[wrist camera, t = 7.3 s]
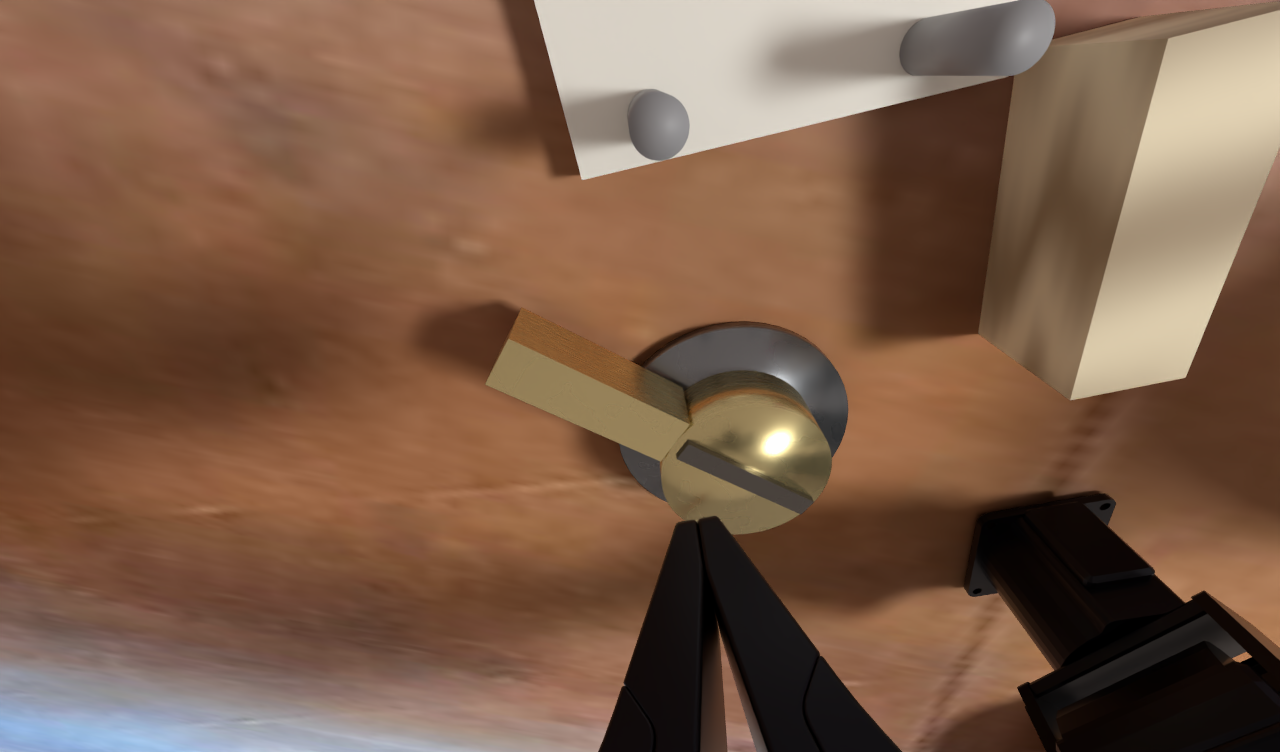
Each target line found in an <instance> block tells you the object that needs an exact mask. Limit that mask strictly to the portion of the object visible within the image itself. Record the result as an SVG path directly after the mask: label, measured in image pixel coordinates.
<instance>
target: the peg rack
mask: <svg viewBox="0 0 1280 752" xmlns="http://www.w3.org/2000/svg"><path fill="white" fill-rule="evenodd" d="M534 2H535V6H536V10H537V13H538V17H539V21H540V25H541V28H542V32H543V36H544V40H545V43H546V47H547V51H548V55H549V58H550V62H551V66H552V70H553V73H554V77H555V81H556V85H557V88H558V92H559V96H560V100H561V103H562V107H563V111H564V115H565V118H566V122H567V126H568V130H569V133H570V137H571V141H572V145H573V148H574V152H575V156H576V160H577V163H578V167H579V171H580V175H581V178H582V180H585V179H589V178H593V177H597V176H601V175H606V174H610V173H614V172H618V171H622V170H626V169H630V168H634V167H639V166H643V165H647V164H651V163H655V162H659V161H663V160H667V159H671V158H676V157H680V156H684V155H688V154H692V153H696V152H700V151H704V150H709V149H713V148H717V147H721V146H725V145H729V144H733V143H737V142H742V141H746V140H750V139H754V138H758V137H762V136H766V135H770V134H775V133H779V132H783V131H787V130H791V129H795V128H799V127H803V126H808V125H812V124H816V123H820V122H824V121H828V120H832V119H836V118H841V117H845V116H849V115H853V114H857V113H861V112H865V111H869V110H874V109H878V108H882V107H886V106H890V105H894V104H898V103H902V102H907V101H911V100H915V99H919V98H923V97H927V96H931V95H935V94H940V93H944V92H948V91H952V90H956V89H960V88H964V87H968V86H973V85H977V84H981V83H985V82H989V81H993V80H997V79H1001V78H1005V77H1008V76H1013V75H1017V74H1020V73H1022V72H1024V71H1026V70H1028V69H1029V68H1031V67H1032V66H1033V65H1034V64H1035V63H1037V62H1038V60H1039V59H1040V58H1041V57H1042V56H1043V55H1044V53H1045V52H1046V50H1047V48H1048V47H1049V45H1050V43H1051V40H1052V37H1053V34H1054V30H1055V15H1054V11H1053V9H1052V7H1051V6H1050V4H1048V3H1047V2H1046V1H1045V0H534Z"/></svg>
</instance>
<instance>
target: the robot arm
mask: <svg viewBox="0 0 1280 752" xmlns="http://www.w3.org/2000/svg"><path fill="white" fill-rule="evenodd" d="M1115 505H1116V502H1115V501H1114V500H1113V499H1112V498H1111V497H1110V496H1109V495H1107V494H1098V495H1092V496H1086V497H1080V498H1074V499H1068V500H1062V501H1056V502H1051V503H1045V504H1039V505H1033V506H1027V507H1021V508H1015V509H1010V510H1004V511H998V512H992V513H987V514H984V515H982V516H980V517H979V518H978V520H977V522H976V528H975V533H974V538H973V543H972V548H971V553H970V558H969V563H968V569H967V574H966V579H965V584H964V589H965V590H966V592H967V593H968V595H970V596H972V597H976V596H982V595H989V594H995V593H999V595H1000V596H1001V598H1002V599H1003V600H1004V602H1005V603H1006V604H1007V606H1008V607H1009V609H1010V610H1011V611H1012V613H1013V614H1014V615H1015V617H1016V618H1017V620H1018V621H1019V622H1020V624H1021V625H1022V626H1023V628H1024V629H1025V631H1026V632H1027V633H1028V635H1029V636H1030V637H1031V639H1032V640H1033V642H1034V643H1035V644H1036V646H1037V647H1038V648H1039V650H1040V651H1041V653H1042V654H1043V655H1044V657H1045V658H1046V659H1047V661H1048V662H1049V664H1050V665H1051V666H1052V668H1053V669H1054V670H1055V671H1053V672H1051V673H1049V674H1047V675H1045V676H1043V677H1041V678H1039V679H1037V680H1035V681H1033V682H1032V683H1029V682H1026V683H1024V684H1022V685H1020V686H1018V687H1017V688H1018V691H1019V693H1020V695H1021V697H1022V699H1023V701H1024V703H1025V705H1026V706H1025V709H1026V711H1027V713H1028V715H1029V717H1030V719H1031V721H1032V723H1033V725H1034V727H1035V729H1036V731H1037V733H1038V735H1039V737H1040V740H1041V742H1042V744H1043V746H1044V748H1045V750H1046V752H1280V648H1279V647H1278V646H1277V645H1276V644H1274V643H1273V642H1272V641H1271V640H1270V639H1269V638H1267V637H1266V636H1265V635H1264V634H1263V633H1262V632H1260V631H1259V630H1258V629H1257V628H1256V627H1254V626H1253V625H1252V624H1251V623H1249V622H1248V621H1246V620H1245V619H1244V618H1242V617H1241V616H1239V615H1238V614H1237V613H1235V612H1234V611H1232V610H1231V609H1230V608H1228V607H1227V606H1225V605H1224V604H1223V603H1221V602H1220V601H1218V600H1217V599H1216V598H1214V597H1213V596H1211V595H1210V594H1209V593H1207V592H1206V591H1202V592H1200V593H1198V594H1196V595H1194V596H1192V597H1191V598H1192V599H1193V600H1191V601H1189V602H1187V603H1185V602H1184V601H1183V600H1182V599H1181V598H1179V597H1178V596H1177V595H1176V594H1175V593H1174V592H1173V591H1172V590H1171V589H1170V588H1169V587H1168V586H1167V585H1166V584H1164V583H1163V582H1162V581H1161V580H1160V579H1159V578H1158V577H1157V576H1156V575H1155V574H1154V573H1155V570H1154V569H1153V567H1151V566H1150V565H1149V564H1148V563H1147V562H1146V561H1145V560H1144V559H1143V558H1142V557H1141V556H1140V555H1138V554H1137V553H1136V552H1135V551H1134V550H1133V549H1132V548H1131V547H1130V546H1129V545H1128V544H1127V543H1126V542H1124V541H1123V540H1122V539H1121V538H1120V537H1119V536H1118V535H1117V534H1116V533H1115V532H1114V531H1113V530H1112V529H1110V528H1109V527H1108V526H1107V525H1108V523H1109V520H1110V518H1111V515H1112V513H1113V510H1114V508H1115ZM717 621H718V623H717ZM718 626H719V629H718ZM719 630H720V633H721V637H722V641H723V644H724V648H725V651H726V654H727V657H728V660H729V664H730V667H731V670H732V673H733V677H734V680H735V683H736V686H737V690H738V693H739V696H740V699H741V703H742V706H743V709H744V712H745V716H746V719H747V722H748V725H749V728H750V732H751V735H752V738H753V741H754V745H755V748H756V751H757V752H902V751H901V750H900V749H899V748H898V747H897V746H896V745H895V743H894V742H893V741H892V740H891V739H890V738H889V737H888V736H887V735H886V734H885V733H884V731H883V730H882V729H881V728H880V727H879V726H878V725H877V723H876V722H875V721H874V720H873V719H872V718H871V717H870V715H869V714H868V713H867V712H866V711H865V710H864V709H863V707H862V706H861V705H860V704H859V703H858V702H857V700H856V699H855V698H854V697H853V695H852V694H851V693H850V691H849V690H848V689H847V688H846V686H845V685H844V684H843V683H842V681H841V680H840V679H839V678H838V676H837V675H836V674H835V672H834V671H833V670H832V668H831V667H830V666H829V664H828V663H827V662H826V660H825V659H824V658H823V657H822V656H820V653H819V651H818V650H817V649H816V647H815V646H814V644H813V643H812V642H811V640H810V639H809V638H808V636H807V635H806V634H805V632H804V631H803V630H802V628H801V627H800V626H799V624H798V623H797V622H796V620H795V619H794V618H793V616H792V615H791V614H790V612H789V611H788V610H787V608H786V607H785V606H784V604H783V603H782V601H781V600H780V599H779V597H778V596H777V595H776V593H775V592H774V591H773V589H772V588H771V587H770V585H769V584H768V583H767V581H766V580H765V579H764V577H763V576H762V575H761V573H760V572H759V571H758V569H757V568H756V567H755V565H754V564H753V563H752V561H751V560H750V559H749V557H748V556H747V554H746V553H745V552H744V550H743V549H742V548H741V546H740V545H739V544H738V542H737V541H736V540H735V538H734V537H733V536H732V534H731V533H730V532H729V530H728V529H727V528H726V526H725V525H724V524H723V522H722V521H721V520H720V518H719V517H717V516H710V517H704V518H700V519H699V520H698V523H697V521H696V520H688V521H682V522H678V523H677V524H676V526H675V529H674V532H673V535H672V538H671V541H670V544H669V547H668V550H667V553H666V556H665V559H664V562H663V565H662V568H661V571H660V574H659V577H658V580H657V583H656V586H655V589H654V592H653V595H652V598H651V601H650V604H649V607H648V610H647V613H646V616H645V619H644V622H643V625H642V628H641V631H640V634H639V637H638V640H637V643H636V646H635V649H634V652H633V655H632V658H631V661H630V664H629V667H628V670H627V673H626V676H625V679H624V685H625V686H623V687H622V688H621V691H620V694H619V697H618V700H617V703H616V706H615V709H614V712H613V714H612V717H611V720H610V723H609V725H608V728H607V731H606V734H605V736H604V739H603V742H602V744H601V746H600V749H599V751H598V752H727V737H726V723H725V708H724V694H723V679H722V664H721V650H720V638H719ZM1244 652H1248V653H1249V654H1250V655H1251V656H1252V657H1251V658H1249V659H1247V660H1245V661H1242V662H1240V663H1239V662H1236V661H1235V660H1233V659H1232V658H1233V657H1236V656H1238V655H1240V654H1242V653H1244Z"/></svg>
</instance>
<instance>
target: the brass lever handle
mask: <svg viewBox="0 0 1280 752" xmlns="http://www.w3.org/2000/svg"><path fill="white" fill-rule="evenodd" d="M485 385H487V386H490V387H492V388H494V389H496V390H499V391H501V392H503V393H505V394H508V395H510V396H512V397H515V398H517V399H519V400H521V401H524V402H526V403H528V404H531V405H533V406H535V407H537V408H540V409H542V410H544V411H547V412H549V413H551V414H553V415H556V416H558V417H560V418H562V419H565V420H567V421H569V422H572V423H574V424H576V425H578V426H581V427H583V428H585V429H588V430H590V431H592V432H594V433H597V434H599V435H601V436H604V437H606V438H608V439H610V440H613V441H615V442H617V443H619V444H622V445H624V446H626V447H629V448H631V449H633V450H635V451H638V452H640V453H642V454H645V455H647V456H649V457H651V458H654V459H656V460H658V461H660V471H661V481H662V488H663V493H664V495H665V498H666V500H667V502H668V503H669V505H670V507H671V508H672V509H673V510H674V511H675V513H676V514H677V515H679V516H680V517H681V518H682V519H683V520H685V521H688V520H696V521H697V523H698V520H699V519H700V518H704V517H710V516H717V517H719V518H720V520H721V521H722V522H723V524H724V525H725V526H726V528H727V529H728V530H729V532H730V533H731V534H749V533H755V532H760V531H764V530H768V529H771V528H774V527H777V526H779V525H781V524H784V523H786V522H788V521H790V520H791V519H793V518H795V517H796V516H798V515H799V514H802V513H803V512H804V511H805V510H806V509H807V508H808V507H809V506H811V505H812V504H813V503H814V501H815V500H816V499H817V498H818V497H819V495H820V494H821V493H822V491H823V489H824V488H825V486H826V484H827V482H828V479H829V476H830V472H831V467H832V457H831V450H830V447H829V444H828V442H827V440H826V438H825V436H824V435H823V433H822V431H821V429H820V427H819V426H818V424H817V422H816V420H815V419H814V417H813V415H812V413H811V411H810V410H809V408H808V406H807V404H806V403H805V401H804V399H803V397H802V396H801V395H800V394H799V392H798V391H797V390H796V389H795V388H794V387H792V386H791V385H790V384H789V383H787V382H786V381H784V380H782V379H780V378H778V377H776V376H774V375H770V374H767V373H764V372H758V371H749V370H738V371H728V372H723V373H719V374H715V375H712V376H709V377H707V378H704V379H702V380H700V381H698V382H696V383H694V384H692V385H691V386H689V387H688V388H687V389H685V390H684V391H683V387H681V386H679V385H677V384H675V383H673V382H671V381H669V380H667V379H665V378H663V377H661V376H659V375H657V374H655V373H653V372H651V371H649V370H647V369H645V368H643V367H641V366H639V365H637V364H635V363H633V362H631V361H629V360H627V359H625V358H623V357H621V356H619V355H617V354H615V353H613V352H611V351H609V350H607V349H605V348H603V347H601V346H599V345H597V344H595V343H593V342H591V341H589V340H587V339H585V338H583V337H581V336H579V335H577V334H575V333H572V332H570V331H568V330H566V329H564V328H562V327H560V326H558V325H556V324H554V323H552V322H550V321H548V320H546V319H544V318H542V317H540V316H538V315H536V314H534V313H532V312H530V311H528V310H526V309H524V308H521V310H520V312H519V314H518V316H517V318H516V320H515V322H514V324H513V326H512V328H511V330H510V332H509V334H508V336H507V338H506V340H505V342H504V344H503V346H502V348H501V350H500V352H499V354H498V356H497V359H496V361H495V363H494V365H493V368H492V370H491V372H490V374H489V377H488V379H487V381H486V383H485Z"/></svg>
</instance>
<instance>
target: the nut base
mask: <svg viewBox="0 0 1280 752" xmlns="http://www.w3.org/2000/svg"><path fill="white" fill-rule="evenodd" d="M641 367H643V368H645V369H647V370H649V371H651V372H653V373H655V374H657V375H659V376H661V377H663V378H665V379H667V380H669V381H671V382H673V383H675V384H677V385H679V386H681V387H683V391H684V390H685V389H687V388H688V387H689V386H691V385H692V384H694V383H696V382H698V381H700V380H702V379H704V378H707V377H709V376H712V375H715V374H719V373H723V372H728V371H738V370H749V371H758V372H764V373H767V374H770V375H774V376H776V377H778V378H780V379H782V380H784V381H786V382H787V383H789V384H790V385H791V386H792V387H794V388H795V389H796V390H797V391H798V392H799V394H800V395H801V396H802V397H803V399H804V401H805V403H806V404H807V406H808V408H809V410H810V411H811V413H812V415H813V417H814V419H815V420H816V422H817V424H818V426H819V427H820V429H821V431H822V433H823V435H824V436H825V438H826V440H827V442H828V444H829V447H830V450H831V457H833V456H834V454H835V452H836V450H837V449H838V447H839V445H840V443H841V440H842V438H843V435H844V433H845V429H846V424H847V418H848V401H847V395H846V391H845V387H844V384H843V382H842V380H841V378H840V376H839V374H838V372H837V371H836V369H835V368H834V366H833V365H832V364H831V362H830V361H829V359H828V358H827V357H826V355H825V354H824V353H823V352H822V351H821V350H820V349H819V348H818V347H817V346H815V345H814V344H813V343H811V342H810V341H809V340H807V339H806V338H804V337H802V336H800V335H799V334H797V333H795V332H793V331H790V330H787V329H785V328H782V327H779V326H775V325H770V324H766V323H757V322H729V323H722V324H716V325H711V326H708V327H704V328H700V329H697V330H695V331H692V332H690V333H687V334H685V335H682V336H681V337H679V338H677V339H675V340H673V341H671V342H670V343H668V344H667V345H665V346H664V347H662V348H661V349H660V350H658V351H657V352H656V353H654V354H653V355H652V356H651V357H650V358H649V359H648V360H647V361H646V362H645V363H644V364H643V365H642V366H641ZM619 445H620V450H621V454H622V456H623V459H624V461H625V464H626V465H627V467H628V469H629V470H630V472H631V474H632V475H633V476H634V477H635V478H636V480H637V481H638V482H639V483H640V484H641V485H642V486H643V487H644V488H646V489H647V490H648V491H649V492H651V493H652V494H654V495H655V496H657V497H658V498H660V499H662V500H664V501H666V502H667V500H666V498H665V495H664V493H663V488H662V481H661V471H660V461H658V460H656V459H654V458H651V457H649V456H647V455H645V454H642V453H640V452H638V451H635V450H633V449H631V448H629V447H626V446H624V445H622V444H619Z"/></svg>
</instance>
